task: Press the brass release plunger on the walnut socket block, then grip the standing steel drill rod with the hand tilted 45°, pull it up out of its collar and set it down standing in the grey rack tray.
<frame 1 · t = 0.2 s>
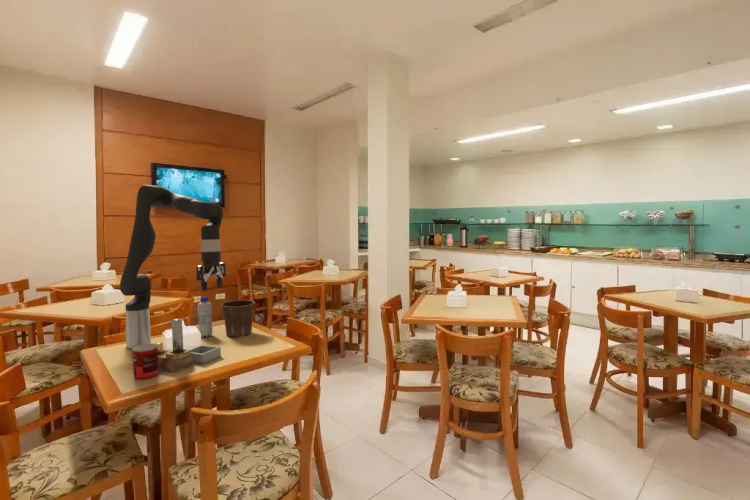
hand: (212, 288, 161), 29 cm above the table, tool pointing down, fingers open, 8 cm apart
bottle: (205, 336, 193), on the table
drill rod: (178, 355, 149), point 5 cm above the table, touching socket block
socket block: (169, 366, 151), on the table
rack tray: (202, 359, 160), on the table
plant pot: (239, 334, 196), on the table
canned food: (146, 376, 142), on the table
release plunger: (158, 350, 153), point 6 cm above the table, slide at 0.0 cm
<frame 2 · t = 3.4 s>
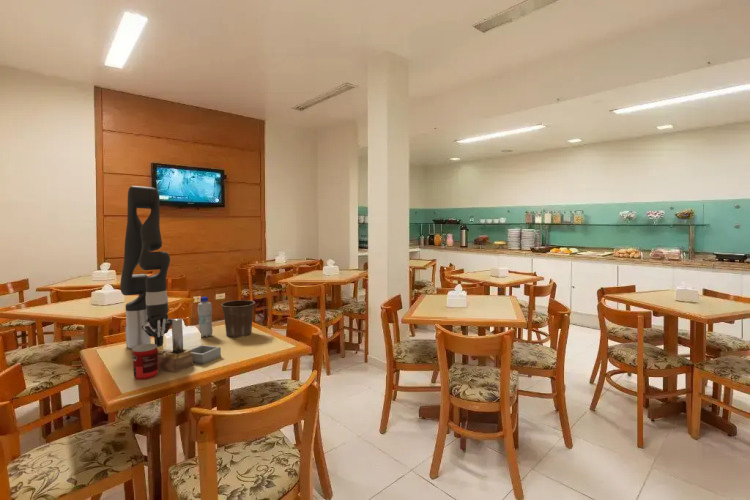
hand: (159, 345, 152), 8 cm above the table, tool pointing down, fingers closed
release plunger: (159, 352, 153), point 5 cm above the table, slide at 0.9 cm, touching gripper
everything else where it was.
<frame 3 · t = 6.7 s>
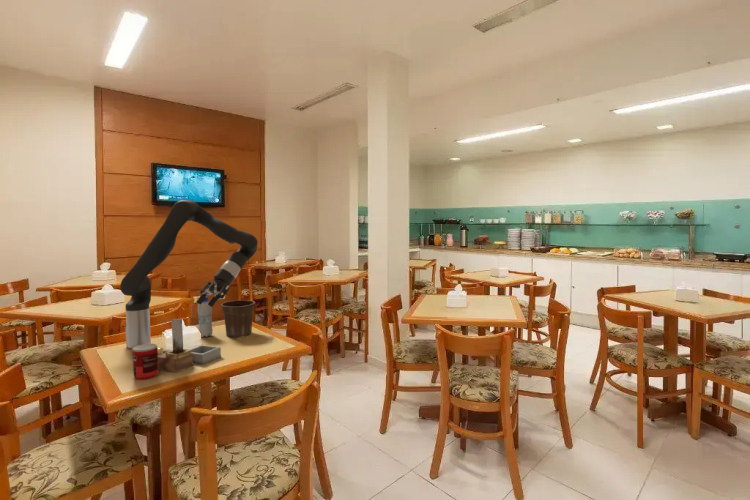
hand: (203, 304, 157), 23 cm above the table, tool tilted 45°, fingers open, 8 cm apart
release plunger: (159, 355, 153), point 4 cm above the table, slide at 2.0 cm
everything else where it was.
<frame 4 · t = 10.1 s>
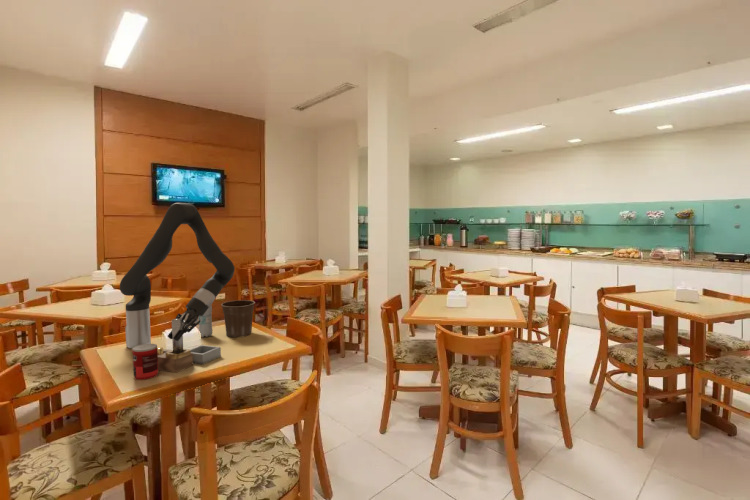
hand: (172, 338, 147), 12 cm above the table, tool tilted 45°, fingers closed on drill rod, 3 cm apart
drill rod: (178, 355, 149), point 5 cm above the table, touching gripper, socket block
everything else where it was.
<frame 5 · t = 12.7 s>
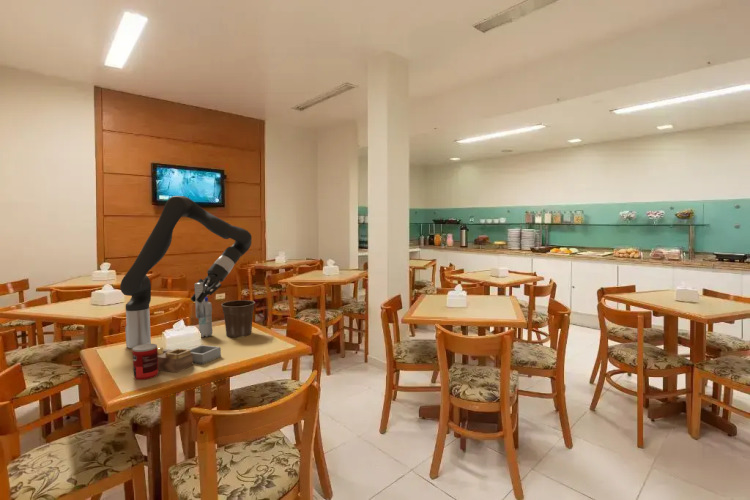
hand: (195, 300, 156), 25 cm above the table, tool tilted 45°, fingers closed on drill rod, 3 cm apart
drill rod: (200, 317, 159), point 18 cm above the table, touching gripper
everything else where it was.
when the fingers open (10 cm above the table, at t = 15.6 s): drill rod drops 2 cm, resting on rack tray.
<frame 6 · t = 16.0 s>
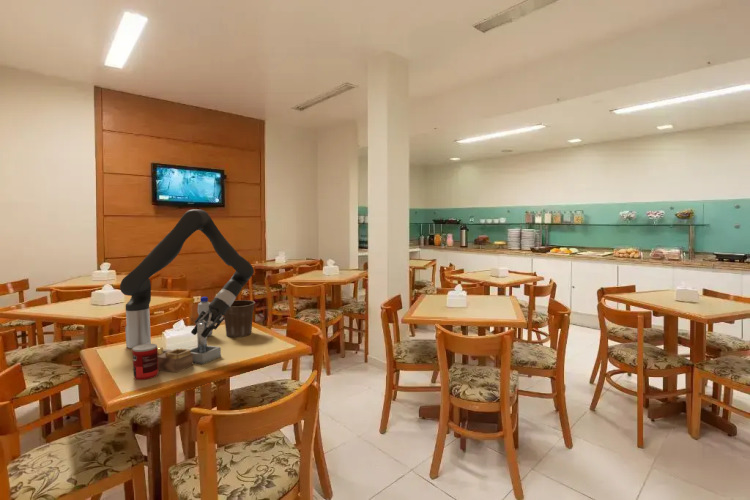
hand: (197, 335, 158), 10 cm above the table, tool tilted 45°, fingers open, 6 cm apart
drill rod: (202, 356, 160), point 1 cm above the table, touching rack tray
everything else where it was.
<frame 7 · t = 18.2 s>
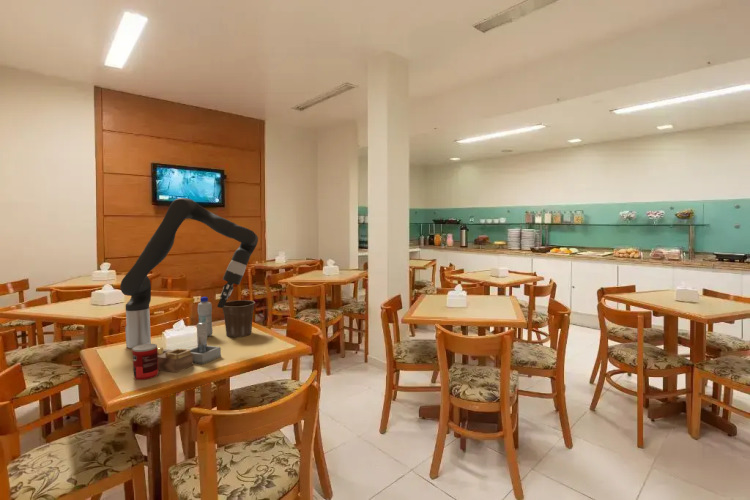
hand: (220, 307, 169), 19 cm above the table, tool tilted 25°, fingers open, 8 cm apart
nothing on the table moved.
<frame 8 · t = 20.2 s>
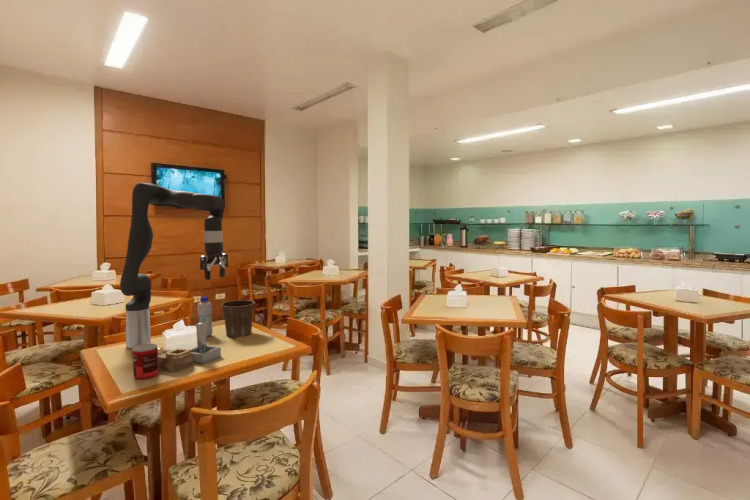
hand: (215, 278, 169), 32 cm above the table, tool pointing down, fingers open, 8 cm apart
nothing on the table moved.
at the end: drill rod inside the target area on the rack tray (0.1 cm from its centre), point 0.8 cm above the rack tray's base; the gripper is holding nothing; release plunger slide at 2.0 cm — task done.
